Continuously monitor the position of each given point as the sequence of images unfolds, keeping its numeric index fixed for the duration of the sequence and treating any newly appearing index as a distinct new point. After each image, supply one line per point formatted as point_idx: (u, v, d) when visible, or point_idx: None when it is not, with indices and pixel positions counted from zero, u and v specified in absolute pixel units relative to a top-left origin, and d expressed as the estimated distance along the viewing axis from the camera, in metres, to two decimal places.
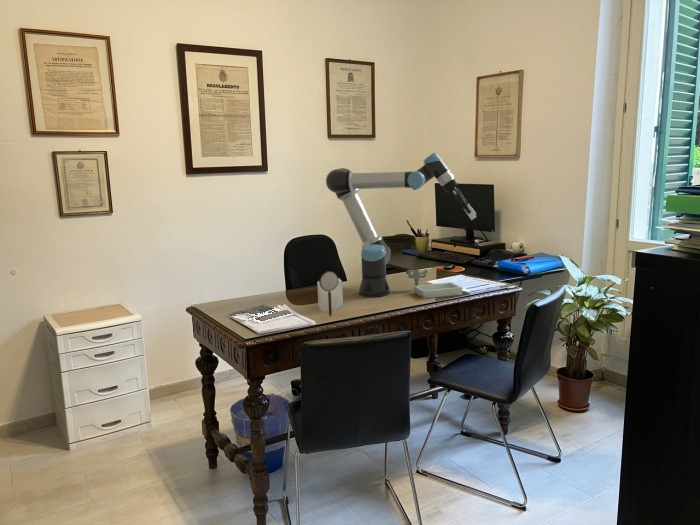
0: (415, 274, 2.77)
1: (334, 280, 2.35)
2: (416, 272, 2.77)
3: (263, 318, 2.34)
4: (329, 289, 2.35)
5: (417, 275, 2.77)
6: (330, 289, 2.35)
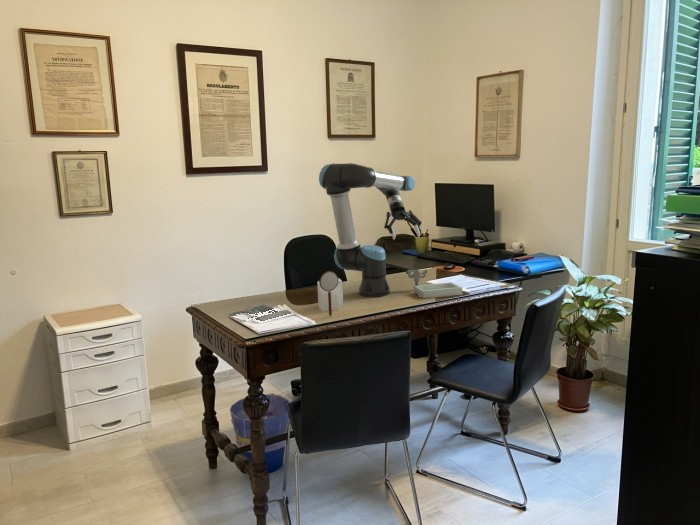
0: (415, 274, 2.77)
1: (334, 280, 2.35)
2: (416, 272, 2.77)
3: (263, 318, 2.34)
4: (329, 289, 2.35)
5: (417, 275, 2.77)
6: (330, 289, 2.35)
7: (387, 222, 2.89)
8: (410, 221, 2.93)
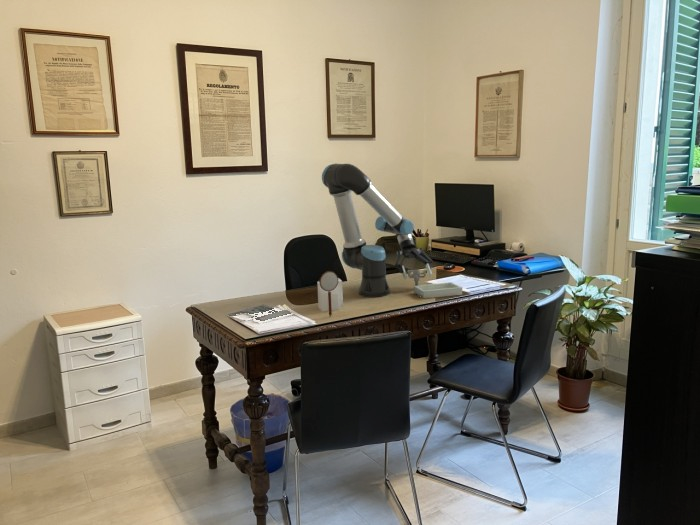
0: (415, 274, 2.77)
1: (334, 280, 2.35)
2: (416, 272, 2.77)
3: (263, 318, 2.34)
4: (329, 289, 2.35)
5: (417, 275, 2.77)
6: (330, 289, 2.35)
7: (398, 261, 2.81)
8: (421, 259, 2.86)
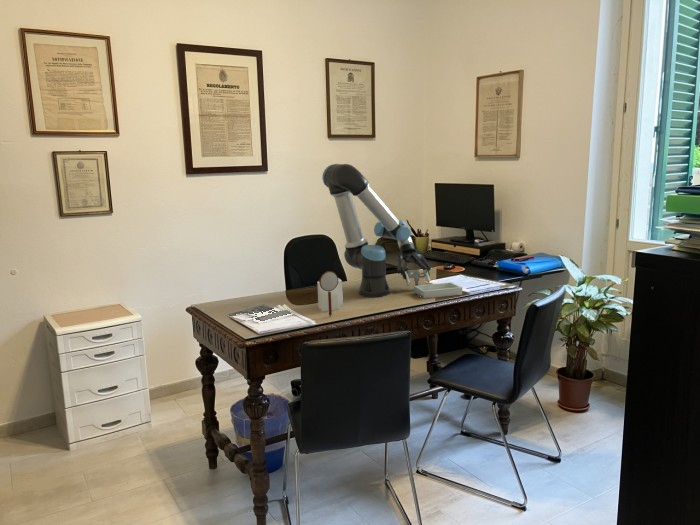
0: (415, 274, 2.77)
1: (334, 280, 2.35)
2: (416, 272, 2.77)
3: (263, 318, 2.34)
4: (329, 289, 2.35)
5: (417, 275, 2.77)
6: (330, 289, 2.35)
7: (400, 267, 2.78)
8: (420, 265, 2.83)
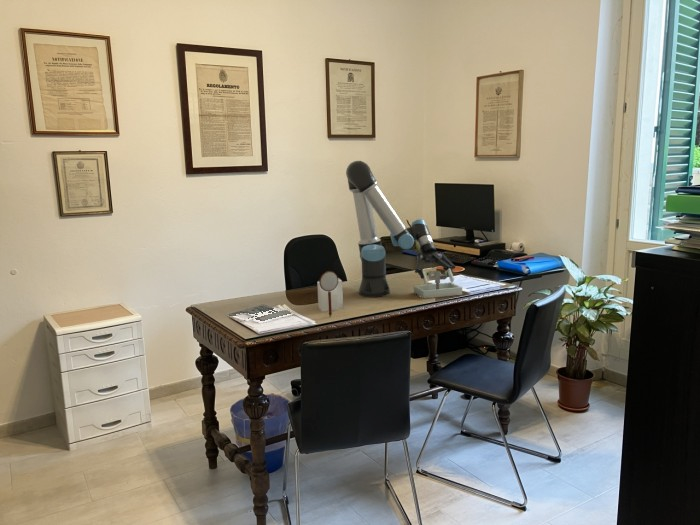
0: (436, 276, 2.67)
1: (334, 280, 2.35)
2: (437, 274, 2.67)
3: (263, 318, 2.34)
4: (329, 289, 2.35)
5: (438, 277, 2.67)
6: (330, 289, 2.35)
7: (418, 266, 2.68)
8: (442, 264, 2.73)
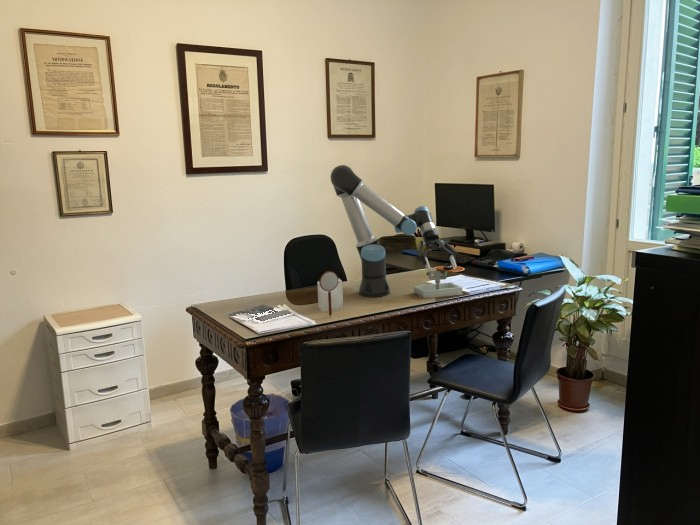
0: (436, 276, 2.67)
1: (334, 280, 2.35)
2: (437, 274, 2.67)
3: (263, 318, 2.34)
4: (329, 289, 2.35)
5: (438, 277, 2.67)
6: (330, 289, 2.35)
7: (421, 252, 2.67)
8: (445, 251, 2.72)
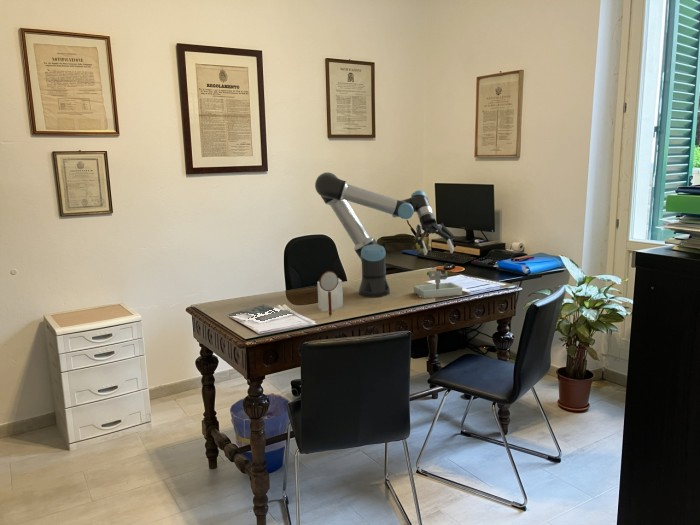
0: (436, 276, 2.67)
1: (334, 280, 2.35)
2: (437, 273, 2.67)
3: (263, 318, 2.34)
4: (329, 289, 2.35)
5: (438, 277, 2.67)
6: (330, 289, 2.35)
7: (418, 236, 2.66)
8: (442, 235, 2.70)
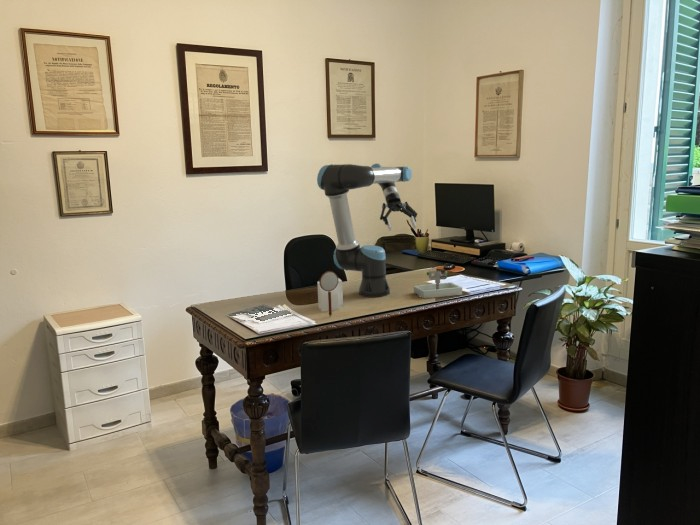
0: (436, 275, 2.67)
1: (334, 280, 2.35)
2: (437, 273, 2.67)
3: (263, 318, 2.34)
4: (329, 289, 2.35)
5: (438, 277, 2.67)
6: (330, 289, 2.35)
7: (383, 213, 2.87)
8: (406, 212, 2.92)
